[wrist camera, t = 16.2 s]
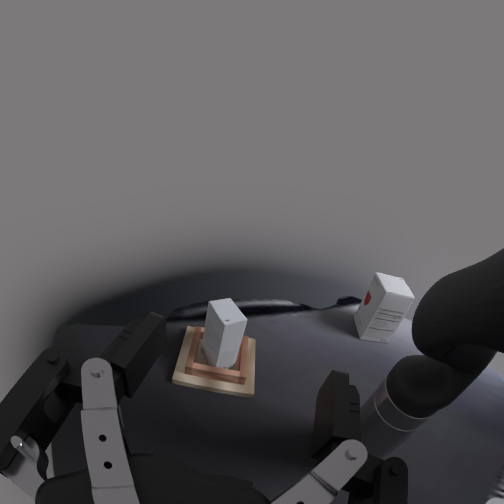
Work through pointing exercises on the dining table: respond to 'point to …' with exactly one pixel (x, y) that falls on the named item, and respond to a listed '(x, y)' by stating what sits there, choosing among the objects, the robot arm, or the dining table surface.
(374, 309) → the supplement box
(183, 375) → the serum stand
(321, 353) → the dining table surface
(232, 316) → the skincare box
